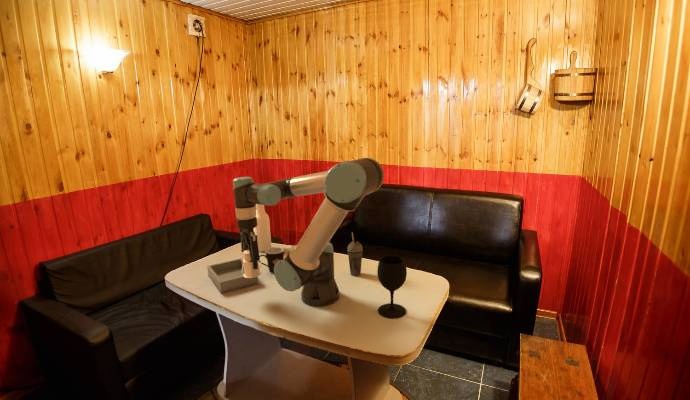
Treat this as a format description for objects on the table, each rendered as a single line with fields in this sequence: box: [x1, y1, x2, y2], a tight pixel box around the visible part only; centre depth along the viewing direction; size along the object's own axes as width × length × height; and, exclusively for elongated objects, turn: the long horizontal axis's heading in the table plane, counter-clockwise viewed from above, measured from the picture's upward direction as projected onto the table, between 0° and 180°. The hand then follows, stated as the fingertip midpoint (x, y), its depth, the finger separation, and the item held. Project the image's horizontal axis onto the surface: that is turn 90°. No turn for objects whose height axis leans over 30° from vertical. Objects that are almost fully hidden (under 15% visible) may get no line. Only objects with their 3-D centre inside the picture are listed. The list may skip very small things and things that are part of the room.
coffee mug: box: [258, 247, 285, 274], centre depth 174 cm, size 12×9×10 cm
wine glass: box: [376, 255, 408, 319], centre depth 133 cm, size 10×10×20 cm
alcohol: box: [253, 204, 272, 253], centre depth 201 cm, size 9×9×30 cm
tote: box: [206, 257, 259, 295], centre depth 165 cm, size 22×16×5 cm
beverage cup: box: [346, 232, 364, 277], centre depth 166 cm, size 7×7×20 cm
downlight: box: [242, 250, 262, 278], centre depth 145 cm, size 8×7×10 cm
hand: (252, 273), depth 146 cm, fingers closed on downlight, 7 cm apart
